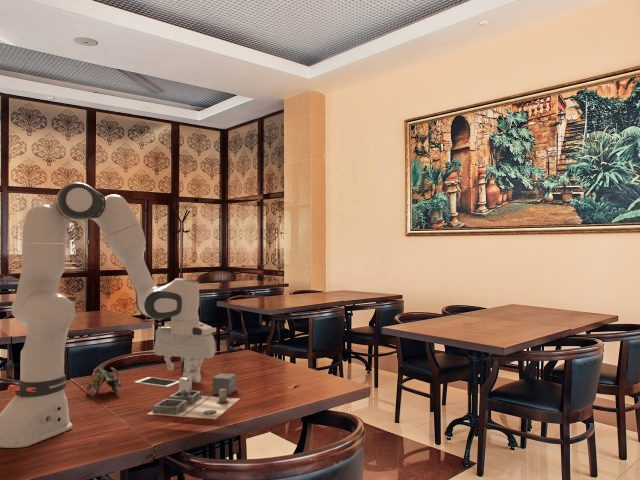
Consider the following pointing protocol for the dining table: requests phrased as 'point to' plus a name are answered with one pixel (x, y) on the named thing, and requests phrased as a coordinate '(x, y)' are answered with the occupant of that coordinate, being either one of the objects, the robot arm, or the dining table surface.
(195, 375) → the plastic bottle
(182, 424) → the dining table surface
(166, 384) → the cell phone
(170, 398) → the board
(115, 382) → the olive green irregular piece
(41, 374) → the robot arm
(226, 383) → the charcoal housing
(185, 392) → the steel peg
